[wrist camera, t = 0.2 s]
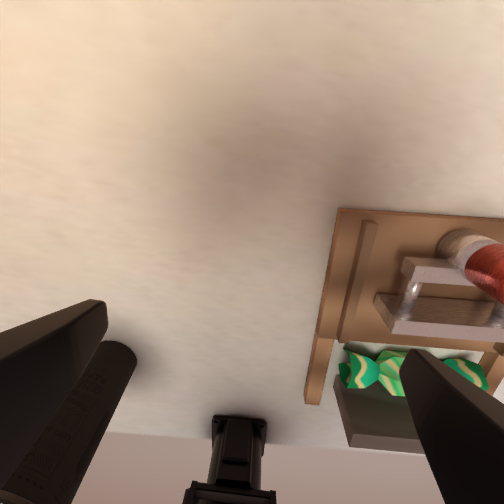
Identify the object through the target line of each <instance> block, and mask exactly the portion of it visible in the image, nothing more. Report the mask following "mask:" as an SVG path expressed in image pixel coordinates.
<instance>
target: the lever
mask: <svg viewBox="0 0 504 504" xmlns="http://www.w3.org/2000/svg"><path fill="white" fill-rule="evenodd" d="M437 256H438V259H434V258H419V257H404V260H403V263H402V266H401V269H400V271H401V272H402V273H403V274H404V275H405V276H406V277H407V281H406V284H405V287H404V290H403V293H402V295H389V294H377V295H376V298H375V302H374V305H373V306H374V307H375V309H376V310H377V312H378V314H379V315H380V317H381V318H382V320H383V321H384V323H385V324H386V326H387V328H388V329H389V331H390V332H391V334H401V335H414V336H426V337H439V338H451V339H464V340H476V341H489V342H501V343H504V244H502V243H500V242H497V241H495V240H493V239H490V238H488V237H486V236H483V235H481V234H479V233H476V232H474V231H472V230H469V229H459V230H456V231H453V232H451V233H449V234H448V235H446V236H445V237H444V238H443V239H442V240H441V242H440V243H439V245H438V248H437ZM423 282H425V283H439V284H452V285H466V286H477V287H478V288H479V289H481V290H482V291H484V292H485V293H487V294H488V295H490V296H491V297H492V298H494V299H495V300H497V301H496V302H482V301H469V300H456V299H442V298H429V297H418V295H419V293H420V290H421V287H422V284H423Z"/></svg>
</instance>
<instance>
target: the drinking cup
mask: <svg viewBox="0 0 504 504" xmlns="http://www.w3.org/2000/svg"><path fill="white" fill-rule="evenodd" d="M136 364H137V360H136V357H135V355H134V353H133V352H132V351H131V350H130V349H129V348H128V347H127V346H125V345H123V344H121V343H119V342H115V341H104V342H101V343H99V345H98V347H97V349H96V350H95V352H94V354H93V356H92V357H91V359H90V361H89V363H88V364H87V366H86V368H85V370H84V371H83V373H82V375H81V376H80V378H79V380H78V381H77V383H76V384H75V386H74V387H73V389H72V390H71V391H70V393H69V394H68V396H67V397H66V399H65V400H64V401H63V403H62V404H61V406H60V407H59V408H58V410H57V411H56V413H55V414H54V415H53V417H52V418H51V420H50V421H49V423H48V424H47V425H46V427H45V428H44V430H43V431H42V432H41V434H40V435H39V437H38V438H37V439H36V441H35V442H34V444H33V445H32V447H31V448H30V449H29V451H28V452H27V454H26V455H25V456H24V458H23V459H22V461H21V462H20V463H19V465H18V466H17V468H16V469H15V471H14V472H13V473H12V475H11V476H10V478H9V479H8V480H7V482H6V483H5V485H4V486H3V487H2V489H1V490H0V504H71V503H72V500H73V498H74V496H75V494H76V492H77V490H78V488H79V486H80V484H81V482H82V479H83V477H84V475H85V473H86V471H87V469H88V467H89V465H90V462H91V460H92V458H93V456H94V454H95V452H96V450H97V447H98V446H99V443H100V441H101V439H102V437H103V435H104V433H105V431H106V429H107V426H108V424H109V422H110V420H111V418H112V416H113V414H114V412H115V409H116V407H117V405H118V403H119V401H120V399H121V397H122V395H123V393H124V390H125V388H126V386H127V384H128V382H129V380H130V378H131V376H132V373H133V371H134V369H135V367H136Z"/></svg>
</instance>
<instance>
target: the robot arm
mask: <svg viewBox="0 0 504 504" xmlns="http://www.w3.org/2000/svg"><path fill="white" fill-rule="evenodd" d="M107 328H108V316H107V306H106V303H105V302H104V301H100V300H94V299H89V300H86V301H83V302H81V303H78V304H75V305H73V306H70V307H67V308H65V309H62V310H59V311H57V312H54V313H51V314H49V315H46V316H43V317H41V318H38V319H35V320H33V321H30V322H28V323H25V324H22V325H20V326H17V327H14V328H12V329H9V330H6V331H4V332H1V333H0V490H1V489H2V487H3V486H4V485H5V483H6V482H7V480H8V479H9V478H10V476H11V475H12V473H13V472H14V471H15V469H16V468H17V466H18V465H19V463H20V462H21V461H22V459H23V458H24V456H25V455H26V454H27V452H28V451H29V449H30V448H31V447H32V445H33V444H34V442H35V441H36V439H37V438H38V437H39V435H40V434H41V432H42V431H43V430H44V428H45V427H46V425H47V424H48V423H49V421H50V420H51V418H52V417H53V415H54V414H55V413H56V411H57V410H58V408H59V407H60V406H61V404H62V403H63V401H64V400H65V399H66V397H67V396H68V394H69V393H70V391H71V390H72V389H73V387H74V386H75V384H76V383H77V381H78V380H79V378H80V376H81V375H82V373H83V371H84V370H85V368H86V366H87V364H88V363H89V361H90V359H91V357H92V356H93V354H94V352H95V350H96V349H97V347H98V345H99V343H100V342H101V340H102V338H103V337H104V335H105V333H106V331H107ZM399 377H400V381H401V384H402V387H403V391H404V394H405V397H406V400H407V404H408V407H409V410H410V413H411V417H412V420H413V423H414V426H415V429H416V432H417V435H418V437H419V440H420V443H421V445H422V448H423V450H424V453H425V455H426V457H427V460H428V462H429V465H430V467H431V470H432V472H433V475H434V477H435V480H436V482H437V485H438V487H439V489H440V492H441V494H442V497H443V499H444V502H445V504H504V404H503V403H501V402H500V401H498V400H497V399H495V398H494V397H493V396H491V395H490V394H488V393H487V392H485V391H484V390H482V389H481V388H480V387H478V386H477V385H475V384H474V383H472V382H471V381H470V380H468V379H467V378H465V377H464V376H462V375H461V374H459V373H458V372H457V371H455V370H454V369H452V368H451V367H449V366H448V365H446V364H445V363H444V362H442V361H441V360H439V359H438V358H436V357H435V356H433V355H432V354H431V353H429V352H428V351H425V350H420V349H410V350H409V351H408V352H407V354H406V356H405V358H404V360H403V362H402V364H401V366H400V369H399ZM266 428H267V423H266V421H264V420H255V419H244V418H233V417H222V416H214V417H213V419H212V451H213V452H212V457H211V463H210V468H209V474H208V479H207V483H200V482H197V481H192V484H191V487H190V488H189V489H186V491H185V496H184V499H183V503H182V504H276V491H272V490H270V491H263V490H261V457H262V456H263V454H264V445H265V436H266Z"/></svg>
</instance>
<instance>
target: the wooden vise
mask: <svg viewBox="0 0 504 504" xmlns="http://www.w3.org/2000/svg"><path fill="white" fill-rule="evenodd" d="M459 229H469V230H472V231H474V232H476V233H479V234H481V235H483V236H486V237H488V238H490V239H493V240H495V241H497V242H500V243H502V244H504V219H498V218H482V217H467V216H451V215H435V214H420V213H404V212H389V211H373V210H358V209H342V208H338V214H337V219H336V224H335V230H334V235H333V240H332V246H331V251H330V256H329V262H328V267H327V272H326V278H325V283H324V288H323V294H322V299H321V304H320V310H319V315H318V320H317V326H316V331H315V336H314V342H313V347H312V352H311V358H310V363H309V368H308V374H307V379H306V385H305V390H304V399H305V404H311V405H319V404H320V400H321V395H322V391H323V386H324V382H325V378H326V373H327V369H328V364H329V360H330V356H331V351H332V347H333V342H334V339H336V340H338V342H339V343H346V344H348V342H349V341H361V342H373V343H385V344H398V345H410V346H422V347H434V348H447V349H459V350H471V351H483V352H485V353H484V355H483V357H482V359H481V361H480V363H479V365H481V367H482V370H483V372H484V375H485V378H486V380H487V383H488V385H489V388H488V389H487V391H486V392H487V393H488V394H490V395H491V396H492V395H493V394H494V392H495V390H496V389H497V387H498V385H499V384H500V382H501V380H502V379H503V377H504V343H501V342H489V341H476V340H464V339H451V338H439V337H426V336H414V335H401V334H391V332H390V331H389V329H388V328H387V326H386V324H385V323H384V321H383V320H382V318H381V317H380V315H379V314H378V312H377V310H376V309H375V307H374V306H373V305H374V302H375V298H376V295H377V294H389V295H402V293H403V290H404V287H405V284H406V281H407V277H406V276H405V275H404V274H403V273H402V272H401V271H400V269H401V266H402V263H403V260H404V257H419V258H434V259H438V256H437V248H438V245H439V243H440V242H441V240H442V239H443V238H444V237H445V236H446V235H448V234H449V233H451V232H453V231H456V230H459ZM418 297H429V298H442V299H456V300H469V301H482V302H496V301H497V300H495V299H494V298H492V297H491V296H490V295H488V294H487V293H485V292H484V291H482V290H481V289H479V288H478V287H477V286H466V285H452V284H439V283H425V282H423V284H422V287H421V290H420V293H419V295H418ZM333 388H334V391H335V395H336V399H337V403H338V407H339V410H340V414H341V418H342V422H343V425H344V429H345V433H346V437H347V441H348V444H349V447H356V448H367V449H377V450H387V451H398V452H408V453H419V454H425V453H424V450H423V448H422V445H421V443H420V440H419V437H418V435H417V432H416V429H415V426H414V423H413V420H412V417H411V413H410V410H409V407H408V404H407V400H406V397H405V396H394V395H392V394H391V393H390V392H389V391H388V390H387V389H386V388H385V387H384V386H383V384H382V383H381V382H380V381H379V380H377V381H375V382H374V383H372V384H371V385H369V386H368V387H366V388H346V386H345V385H344V384H343V383H342V381H341V380H340V375H336V378H335V382H334V386H333Z"/></svg>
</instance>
